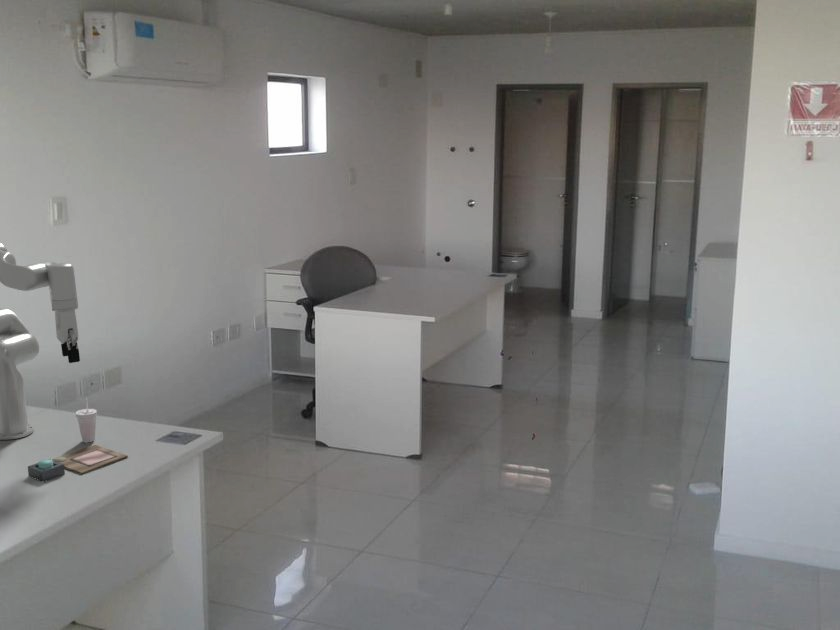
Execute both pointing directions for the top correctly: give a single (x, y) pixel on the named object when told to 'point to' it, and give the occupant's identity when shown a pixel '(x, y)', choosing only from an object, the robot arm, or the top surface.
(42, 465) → the button
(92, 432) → the smoothie
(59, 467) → the button housing
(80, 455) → the picture board
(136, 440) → the top surface
